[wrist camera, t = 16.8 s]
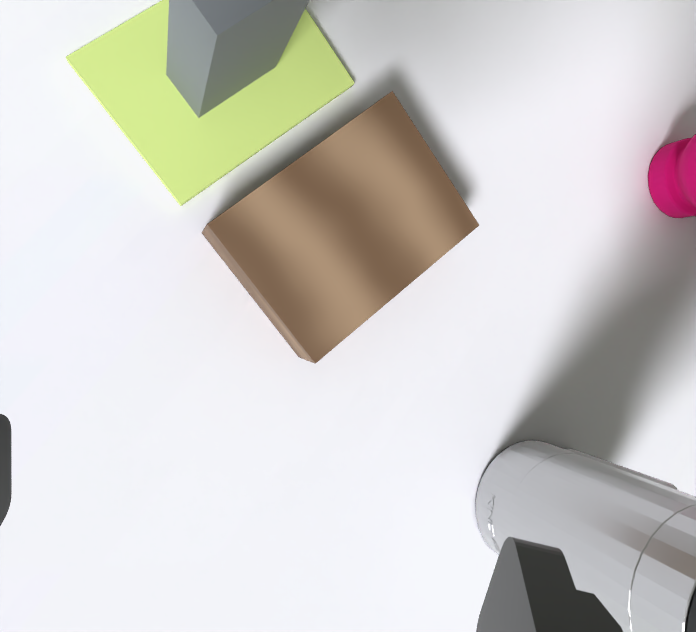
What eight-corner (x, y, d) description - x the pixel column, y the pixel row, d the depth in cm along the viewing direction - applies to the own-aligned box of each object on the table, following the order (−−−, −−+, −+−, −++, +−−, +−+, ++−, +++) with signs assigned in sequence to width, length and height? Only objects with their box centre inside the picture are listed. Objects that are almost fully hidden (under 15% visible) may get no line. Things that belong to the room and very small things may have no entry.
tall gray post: (246, 24, 34) (284, -97, 24) (275, 67, 35) (325, -33, 25) (166, 74, 33) (170, -31, 23) (198, 118, 34) (217, 35, 23)
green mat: (259, -52, 35) (261, -58, 35) (351, 86, 37) (354, 83, 37) (67, 61, 32) (65, 56, 31) (180, 206, 34) (181, 204, 33)
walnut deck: (368, 112, 38) (392, 90, 34) (448, 232, 40) (479, 225, 36) (201, 232, 34) (207, 224, 31) (298, 357, 37) (315, 363, 33)
